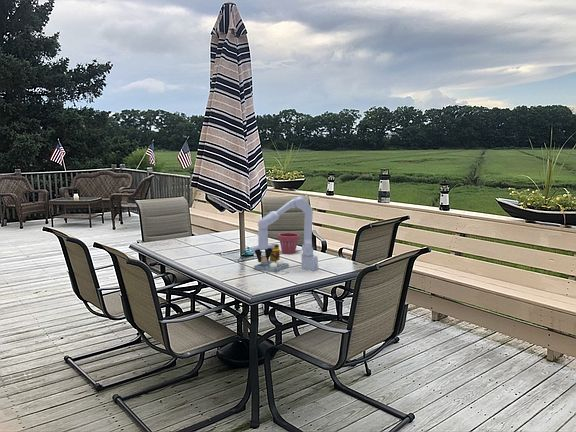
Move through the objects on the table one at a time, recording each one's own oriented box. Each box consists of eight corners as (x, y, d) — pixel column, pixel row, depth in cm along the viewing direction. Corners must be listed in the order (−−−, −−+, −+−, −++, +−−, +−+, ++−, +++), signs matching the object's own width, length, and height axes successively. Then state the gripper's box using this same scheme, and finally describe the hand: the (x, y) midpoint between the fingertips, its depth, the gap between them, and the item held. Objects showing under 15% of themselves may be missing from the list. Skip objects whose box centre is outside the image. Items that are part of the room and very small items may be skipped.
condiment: (276, 265, 292) (276, 246, 290) (265, 263, 296) (264, 244, 295) (282, 262, 298) (282, 244, 297) (271, 261, 303) (270, 242, 301)
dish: (289, 273, 272) (289, 272, 272) (283, 276, 267) (283, 274, 267) (280, 272, 275) (280, 270, 275) (274, 274, 270) (274, 273, 270)
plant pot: (303, 252, 325) (303, 234, 323) (287, 255, 316) (287, 237, 315) (290, 249, 336) (290, 231, 334) (274, 252, 328) (274, 234, 326)
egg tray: (288, 268, 284) (288, 263, 284) (275, 274, 272) (275, 269, 271) (268, 265, 292) (268, 260, 291) (254, 270, 279) (254, 265, 279)
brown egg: (268, 263, 279) (268, 256, 278) (261, 264, 277) (261, 257, 276) (264, 262, 283) (264, 254, 282) (258, 263, 281) (258, 255, 280)
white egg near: (284, 267, 283) (284, 259, 283) (280, 268, 280) (280, 261, 279) (278, 266, 286) (278, 258, 285) (274, 267, 282) (274, 260, 281)
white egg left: (278, 269, 278) (278, 262, 277) (274, 271, 274) (274, 263, 273) (272, 268, 280) (272, 261, 279) (267, 270, 276) (267, 262, 275)
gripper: (255, 241, 271) (255, 264, 273) (277, 239, 278) (277, 261, 280) (249, 239, 276) (250, 262, 278) (271, 237, 284) (271, 258, 286)
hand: (263, 261), depth 280 cm, fingers closed on brown egg, 5 cm apart
